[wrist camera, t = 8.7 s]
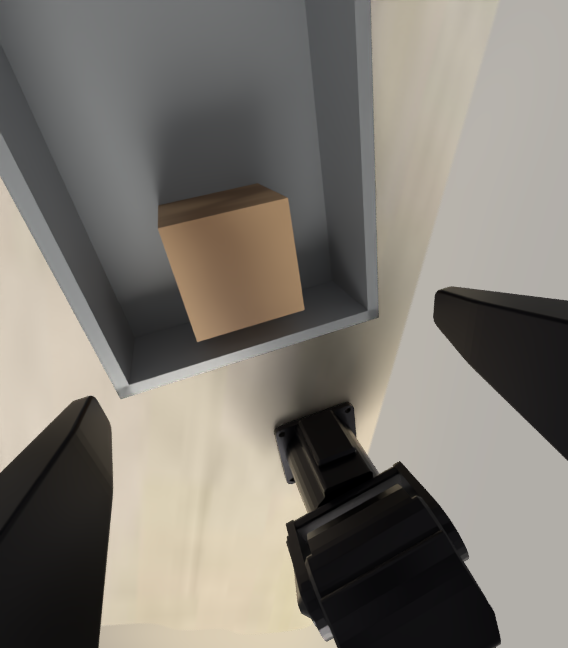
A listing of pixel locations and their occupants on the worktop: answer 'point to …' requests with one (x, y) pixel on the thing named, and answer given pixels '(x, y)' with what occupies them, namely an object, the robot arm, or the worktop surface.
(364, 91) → the tote
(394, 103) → the worktop surface
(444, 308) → the robot arm
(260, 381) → the worktop surface
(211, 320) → the walnut cube
